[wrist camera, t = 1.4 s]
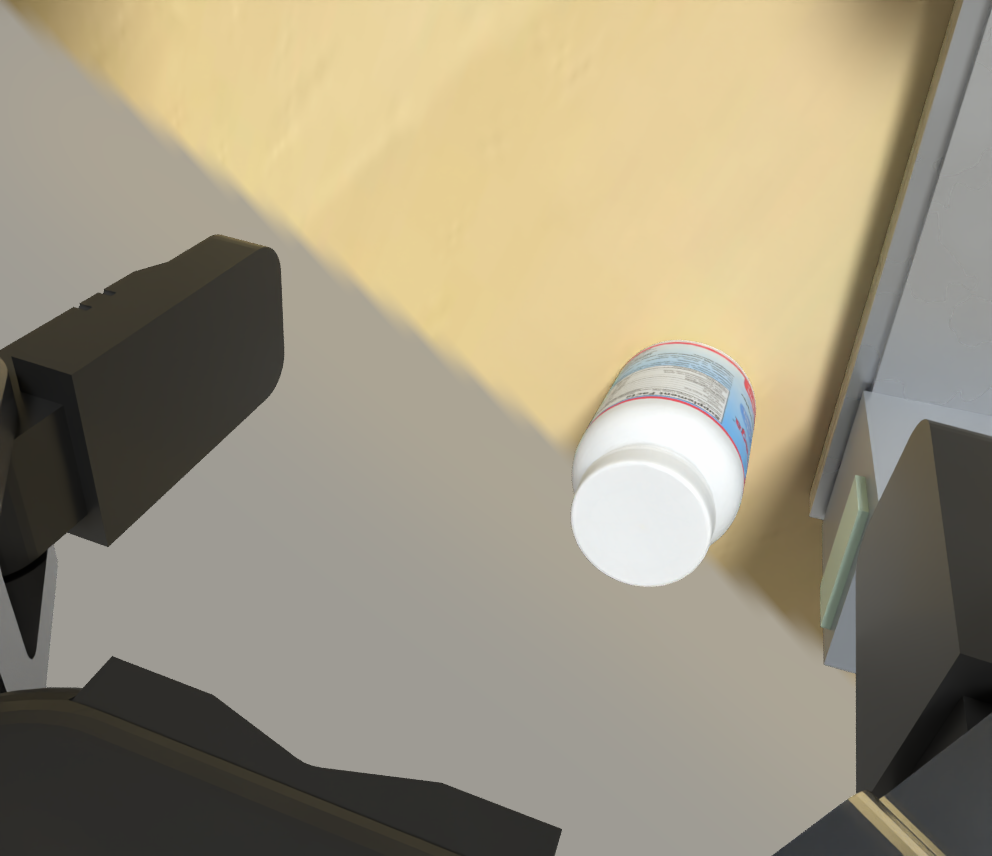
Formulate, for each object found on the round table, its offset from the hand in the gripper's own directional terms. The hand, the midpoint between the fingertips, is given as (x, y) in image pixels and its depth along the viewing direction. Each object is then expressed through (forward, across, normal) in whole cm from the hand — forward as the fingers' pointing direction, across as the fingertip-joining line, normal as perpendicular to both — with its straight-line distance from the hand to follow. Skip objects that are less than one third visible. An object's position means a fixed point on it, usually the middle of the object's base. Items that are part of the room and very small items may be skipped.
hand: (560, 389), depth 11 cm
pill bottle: (+24, -1, +14) cm, 28 cm away
